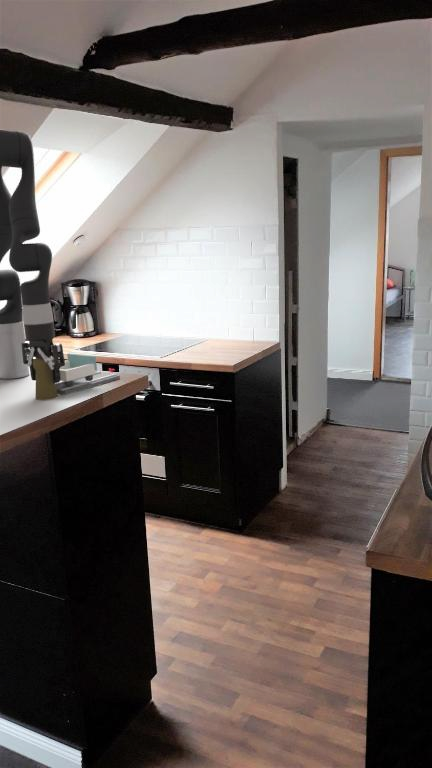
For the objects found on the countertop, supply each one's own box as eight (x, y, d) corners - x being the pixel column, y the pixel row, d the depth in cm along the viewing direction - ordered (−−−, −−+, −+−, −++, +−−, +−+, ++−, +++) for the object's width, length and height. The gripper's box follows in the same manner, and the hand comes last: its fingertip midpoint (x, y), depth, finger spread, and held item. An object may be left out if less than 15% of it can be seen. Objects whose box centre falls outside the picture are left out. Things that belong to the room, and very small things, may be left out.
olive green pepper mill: (52, 400, 160) (47, 359, 157) (31, 400, 161) (26, 359, 158) (62, 394, 165) (57, 355, 163) (41, 394, 167) (37, 355, 164)
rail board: (42, 390, 170) (41, 386, 170) (96, 375, 187) (96, 371, 186) (65, 394, 164) (65, 389, 164) (120, 378, 181) (119, 374, 181)
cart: (41, 384, 170) (38, 360, 169) (71, 376, 179) (69, 353, 178) (67, 388, 164) (64, 363, 162) (97, 379, 173) (95, 356, 171)
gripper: (67, 320, 157) (74, 380, 161) (33, 318, 165) (40, 376, 169) (44, 324, 151) (52, 386, 155) (9, 322, 159) (17, 382, 163)
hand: (45, 381), depth 162 cm, fingers open, 8 cm apart
